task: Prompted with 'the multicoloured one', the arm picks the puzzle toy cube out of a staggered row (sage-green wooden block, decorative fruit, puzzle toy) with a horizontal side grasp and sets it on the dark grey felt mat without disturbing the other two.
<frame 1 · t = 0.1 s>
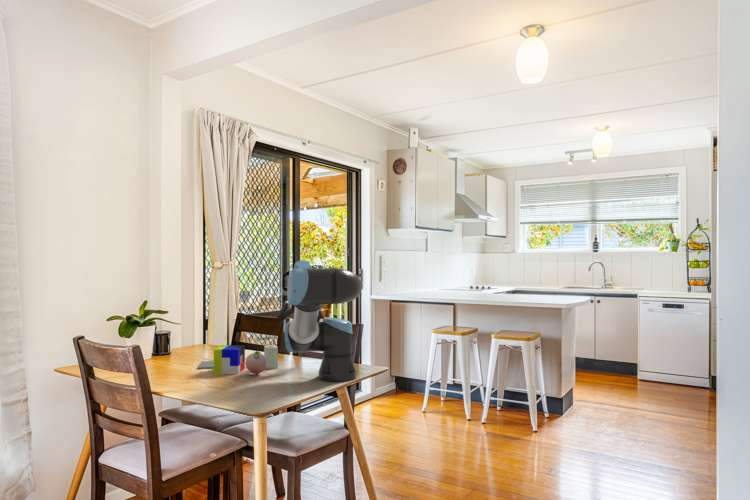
hand: (299, 329, 229), 15 cm above the table, tool tilted 35°, fingers open, 13 cm apart
sage block: (270, 367, 220), on the table
decorative fruit: (255, 375, 206), on the table
mat: (215, 365, 224), on the table
puzzle toy: (229, 371, 213), on the table
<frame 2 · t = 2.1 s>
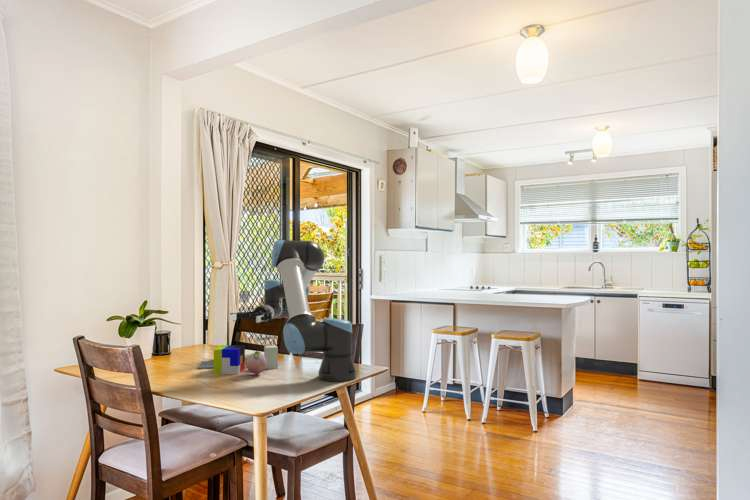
hand: (242, 319, 224), 20 cm above the table, tool horizontal, fingers open, 13 cm apart
nothing on the table moved.
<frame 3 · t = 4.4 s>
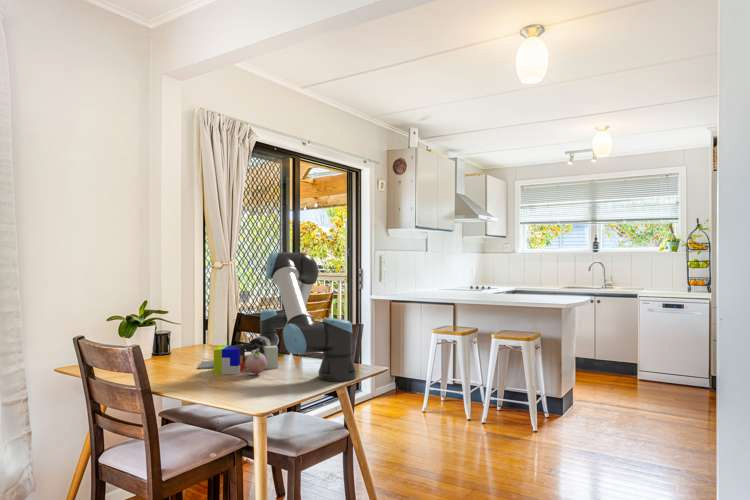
hand: (237, 353, 221), 6 cm above the table, tool horizontal, fingers open, 13 cm apart
nothing on the table moved.
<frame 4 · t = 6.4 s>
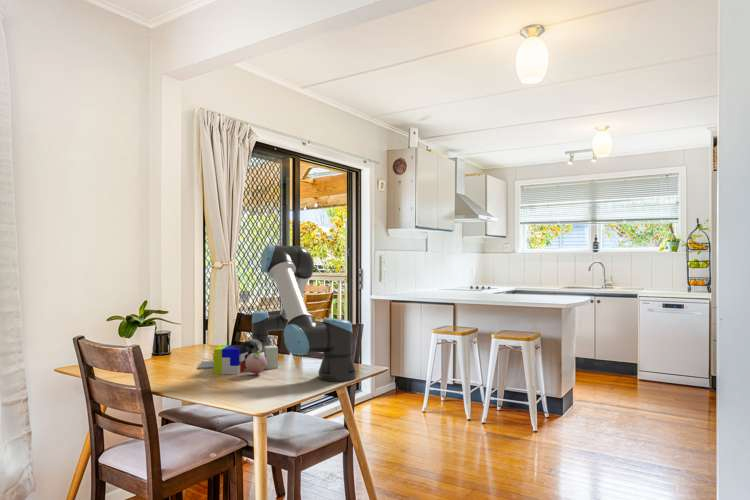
hand: (226, 357, 211), 6 cm above the table, tool horizontal, fingers closed on puzzle toy, 11 cm apart
puzzle toy: (229, 371, 213), on the table, touching gripper
everything else where it was.
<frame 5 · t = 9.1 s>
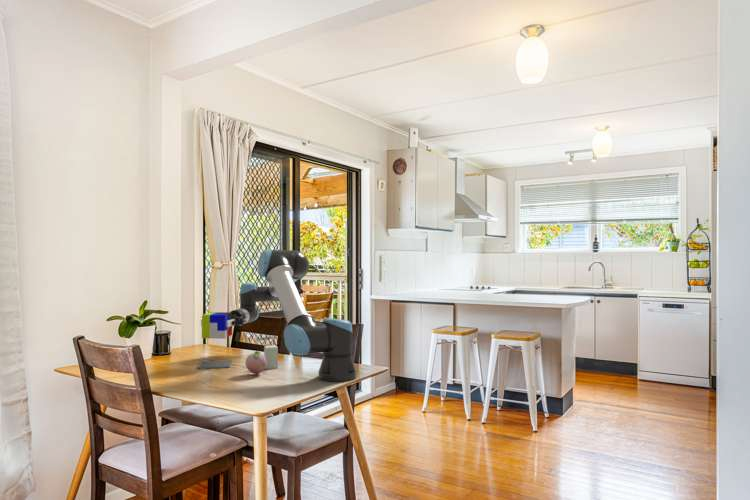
hand: (214, 323, 221), 19 cm above the table, tool horizontal, fingers closed on puzzle toy, 11 cm apart
puzzle toy: (217, 336, 223), point 13 cm above the table, touching gripper
everything else where it was.
when the fingers open (8 cm above the table, at t = 11.8 s): puzzle toy drops 1 cm, resting on mat.
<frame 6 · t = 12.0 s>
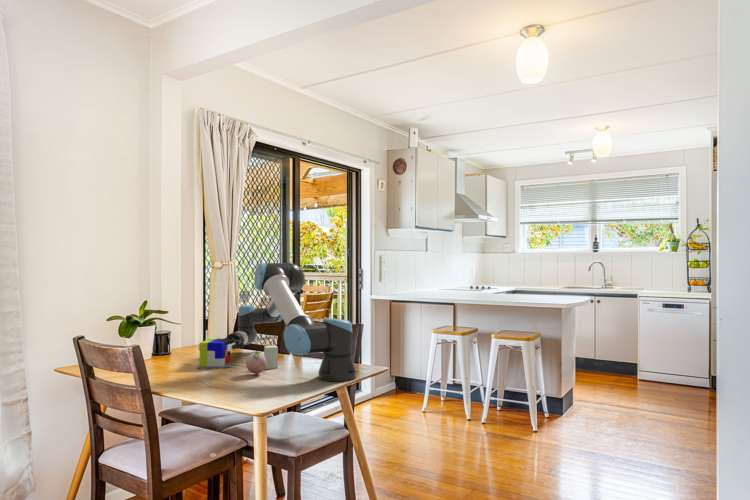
hand: (213, 347, 223), 8 cm above the table, tool horizontal, fingers open, 13 cm apart
puzzle toy: (215, 364, 224), resting on mat
everything else where it was.
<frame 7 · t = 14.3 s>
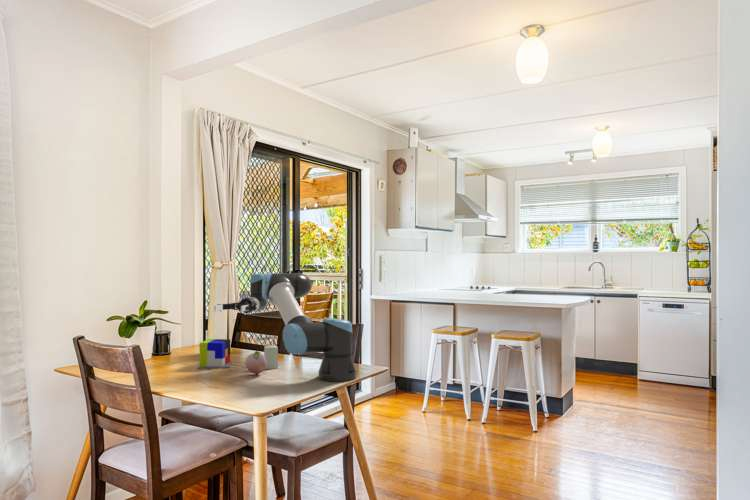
hand: (228, 308, 236), 24 cm above the table, tool horizontal, fingers open, 13 cm apart
nothing on the table moved.
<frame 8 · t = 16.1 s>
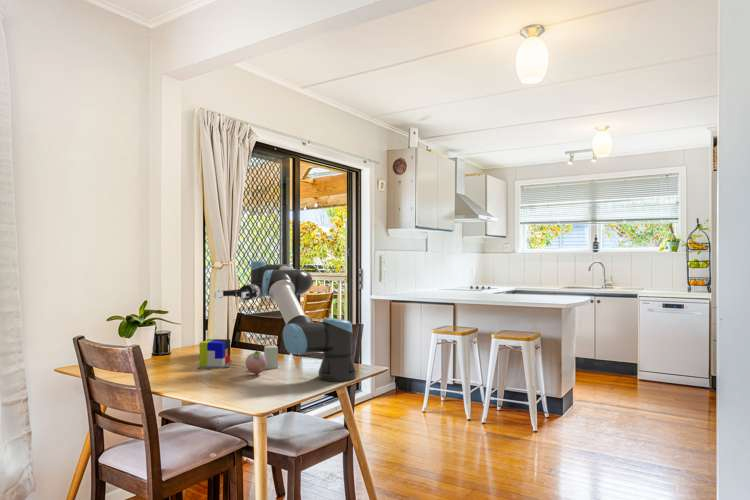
hand: (228, 295, 236), 30 cm above the table, tool horizontal, fingers open, 13 cm apart
nothing on the table moved.
at the end: puzzle toy inside the target area on the mat (0.1 cm from its centre), point 0.4 cm above the mat's base; puzzle toy tilted 0°; sage block moved 0.1 cm from its start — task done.
